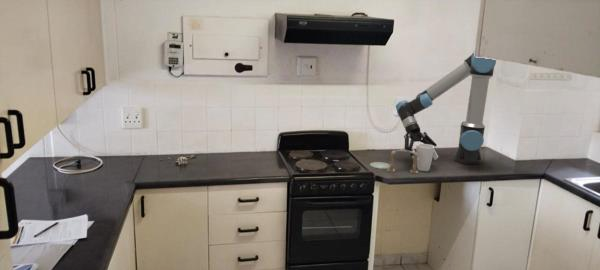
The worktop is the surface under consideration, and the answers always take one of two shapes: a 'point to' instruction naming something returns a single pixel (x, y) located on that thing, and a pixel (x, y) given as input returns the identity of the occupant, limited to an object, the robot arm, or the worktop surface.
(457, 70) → the robot arm
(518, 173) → the worktop surface
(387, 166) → the coaster
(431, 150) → the foam cup
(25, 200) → the worktop surface
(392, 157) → the pull handle
